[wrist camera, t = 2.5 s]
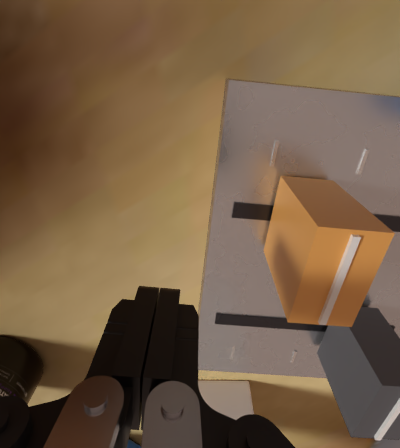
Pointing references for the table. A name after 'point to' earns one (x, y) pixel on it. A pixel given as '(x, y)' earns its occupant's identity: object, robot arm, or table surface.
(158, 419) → the robot arm
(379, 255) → the orange fader
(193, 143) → the table surface
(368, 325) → the block
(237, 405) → the milk
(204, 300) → the console
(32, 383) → the supplement bottle
